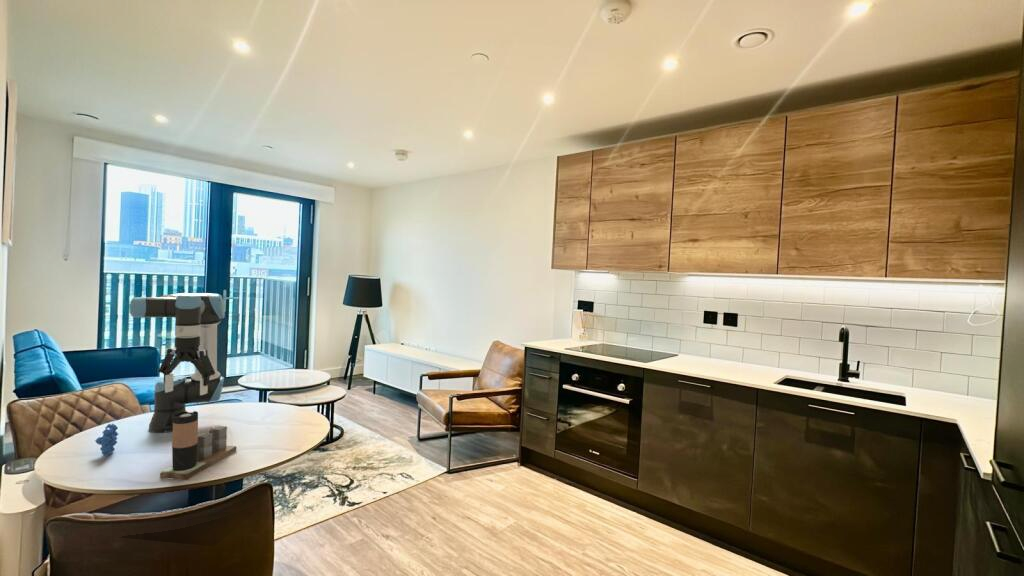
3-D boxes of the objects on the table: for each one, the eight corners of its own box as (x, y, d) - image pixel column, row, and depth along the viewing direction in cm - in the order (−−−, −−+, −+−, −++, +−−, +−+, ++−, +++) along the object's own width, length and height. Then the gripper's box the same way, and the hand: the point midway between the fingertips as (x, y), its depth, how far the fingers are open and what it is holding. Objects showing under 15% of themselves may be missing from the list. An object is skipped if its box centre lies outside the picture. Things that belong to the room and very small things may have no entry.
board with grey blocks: (160, 477, 158) (160, 448, 157) (213, 449, 184) (214, 423, 183) (186, 480, 157) (186, 450, 157) (236, 450, 183) (237, 425, 183)
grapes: (100, 449, 178) (100, 421, 177) (121, 447, 181) (122, 419, 180) (89, 461, 167) (89, 430, 167) (112, 458, 171) (112, 428, 170)
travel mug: (176, 473, 157) (178, 419, 156) (167, 467, 161) (169, 414, 160) (200, 465, 164) (202, 413, 163) (191, 460, 168) (192, 409, 167)
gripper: (146, 335, 158) (145, 393, 159) (212, 339, 156) (210, 398, 157) (164, 332, 165) (163, 387, 166) (227, 336, 164) (225, 392, 164)
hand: (186, 392), depth 161 cm, fingers open, 13 cm apart
